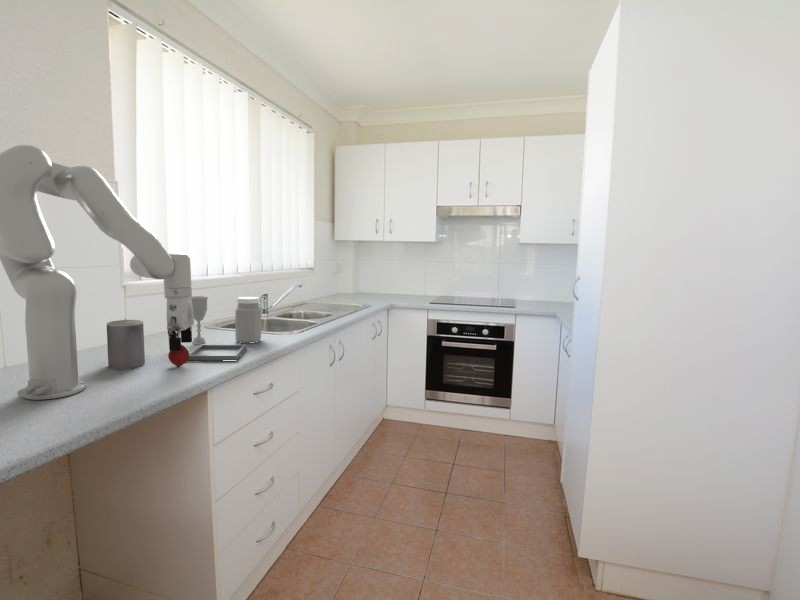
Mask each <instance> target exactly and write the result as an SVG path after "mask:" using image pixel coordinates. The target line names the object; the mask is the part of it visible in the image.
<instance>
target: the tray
mask: <svg viewBox="0 0 800 600" xmlns="http://www.w3.org/2000/svg"><path fill="white" fill-rule="evenodd" d="M245 350H246V351H247V344H222V343H221V344H220V343H219V344H217V343H213V344H210V343H209V344H206V343H204V344H198V346H197V347H195V348H194V349H192V350H190V351H189V359H188V360H187V361H223V360H237V359H238V358H239V357H240V355H241V354H242V353H243V352H244V351H245ZM246 351H245V352H246ZM245 352H244V353H245ZM244 353H243V354H244ZM243 354H242V355H243ZM240 358H241V357H240ZM240 358H239V359H240ZM239 359H238V360H239ZM238 360H237V361H238Z"/></svg>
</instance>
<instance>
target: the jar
mask: <svg viewBox="0 0 800 600" xmlns="http://www.w3.org/2000/svg"><path fill="white" fill-rule="evenodd" d="M236 301H237V307H236V308H235V313H234V314H235V340H236V341H237V343H239V342H241V343H240V344H243V343H250V342H256V341H258V342H260V341H261V339H262V308H261V307H260V304H259V303H260V297H258V296H249V295H248V296H239V297H237V299H236ZM256 343H257V342H256ZM250 344H251V343H250Z"/></svg>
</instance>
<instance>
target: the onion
mask: <svg viewBox="0 0 800 600" xmlns="http://www.w3.org/2000/svg"><path fill="white" fill-rule="evenodd" d="M189 353H190V351H189V350H188V349H187V348H186V347H185V346H184V345H183V344H181V350H180V351H170V350H169V352H168V356H167V357H168V360H169V362H170V363H172V365H174V366H175V367H177V368H180V367H181V366H183V365H184V364H186V363H187V360H188V359H189Z"/></svg>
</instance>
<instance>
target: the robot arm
mask: <svg viewBox="0 0 800 600" xmlns="http://www.w3.org/2000/svg"><path fill="white" fill-rule="evenodd" d="M38 192H39V193H42V194H47V195H50V196H53V197H57V198H61V199H66V200H70V201H76V202H77V203H78V204H79V206H80V207H81V208H82V209H83V210H84V212H85V213H86V214H87V215H88V217H89V218H90V219H91V220H92V221H93V222H94V224H95V225H96V226H97V227H98V229H99V230H100V231H101V232H102V233H103V234H105V235H106V236H108V237H109V238H111V239H113V240H115V241H117V242H118V243H120V244H122V245H123V246H124V247H125V248H127V250H129V251H130V253H132V254H133V256H132V257H131V259H130V263H129V266H130V270H131V271H132V272H133V273H134V274H135V275H136V276H138V277H142V278H147V279H153V280H163V290H164V291H163V293H164V299H166V328H167V329H166V330H167V334H168V335H167V339H168V345H169V347H168V349H169V352H170V351H180V350H181V345H182V343H187V344H188V343H192V342H193V332H192V331H193V330H192V329H193V327H192V326H193V325H194V324H195V319H194V316H193V307H192V300H191V297H193V292H192V291H193V290H192V289H193V287H192V270H191V268H192V267H191V256H190V254H188V253H186V252H168V251H167V249H166V248H165V247H164V246H163V245H162V243H161V242H160V241H159V239H158V238H157V237H156V236H155V235H154V234H153V233H152V232H151V230H149V229H148V228H147V227H145V226H144V225H143V224H142V223H141V222H140V221H139V220H138V219H137V218H136V217H134V216H133V214H132V213H131V212H130V210H129V209H128V208H127V206H126V205H125V204H124V203H123V201H122V200H121V199H120V197H118V195H117V193H116V192H115V191H114V189H113V188H112V187H111V186H110V184H109V183H108V182H107V180H106V179H105V178H104V177H103V176H102V174H101V173H100V172H99V171H97V169H95V168H93V167H91V166H87V165H86V166H85V165H77V166H71V167H70V166H67V165H63V164H59V163H57V162H52V161H51V159H50V157H49V155H47V153H46V152H45V151H43V150H42V149H41V148H39V147H36V146H33V145H30V144H29V145H28V144H18V145H16V146H15V145H14V146H12V147H9V148H8V149H5V150H3V151H2V152H0V262H1V265H2V267H3V269H4V271H5V273H6V275H7V277H8V280H9V282H10V284H11V286H12V288H13V289H14V291H15V292H16V294H17V295H18V296H19V297H20V298H22V299H24V300H25V312H24V315H25V318H24V320H25V321H24V323H25V324H24V325H25V328H24V329H25V335H26V337H25V338H26V350H27V351H26V352H27V353H26V354H27V362H28V363H27V364H28V378H29V379H28V380H27V386H25V387H23V388H21V389H18V391H17V395H18V397H19V398H24V399H26V400H31V401H32V400H33V401H34V400H35V401H37V400H38V401H39V400H40V401H41V400H53V399H60V398H65V397H67V396H72V395H75V394H78V393H80V392H83V391H84V390H85V389H86V388H87V383H86V381H84V380H81V379H79V371H78V370H79V369H78V368H79V367H78V350H77V349H78V348H77V335H76V334H77V333H76V332H77V331H76V302H77V286H76V283H75V281H74V279H73V278H72V277H71V276H70V275H69V274H68V273H66V272H65V271H63V270H61V269H58V268H55V266H54V263H53V261H52V259H51V258H52V257H53V255H54V253H55V252H56V251H55V250H56V246H55V241H54V238H53V236H52V235H51V234H52V233H51V232H50V230H49V228H48V226H47V223H46V221H45V218H44V216H43V213H42V211H41V207H40V205H39V201H38V194H37V193H38Z"/></svg>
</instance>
